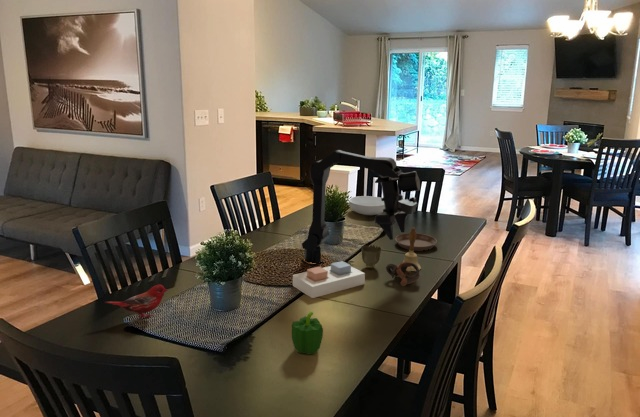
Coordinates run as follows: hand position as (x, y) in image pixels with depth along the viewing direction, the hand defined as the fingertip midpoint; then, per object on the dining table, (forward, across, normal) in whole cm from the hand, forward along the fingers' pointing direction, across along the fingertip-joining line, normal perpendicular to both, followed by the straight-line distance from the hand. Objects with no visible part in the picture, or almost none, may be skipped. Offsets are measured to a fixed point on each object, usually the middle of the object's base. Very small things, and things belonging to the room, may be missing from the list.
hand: (397, 235), depth 183 cm
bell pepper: (+13, -63, -2) cm, 64 cm away
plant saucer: (+15, +35, +11) cm, 40 cm away
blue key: (+8, -18, +14) cm, 25 cm away
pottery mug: (+16, -4, -2) cm, 16 cm away
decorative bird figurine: (+2, -78, +47) cm, 91 cm away
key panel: (+11, -23, +17) cm, 31 cm away
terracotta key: (+7, -28, +18) cm, 34 cm away
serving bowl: (+8, +70, +53) cm, 88 cm away
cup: (+13, 0, +14) cm, 19 cm away
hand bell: (+16, +9, +2) cm, 18 cm away
